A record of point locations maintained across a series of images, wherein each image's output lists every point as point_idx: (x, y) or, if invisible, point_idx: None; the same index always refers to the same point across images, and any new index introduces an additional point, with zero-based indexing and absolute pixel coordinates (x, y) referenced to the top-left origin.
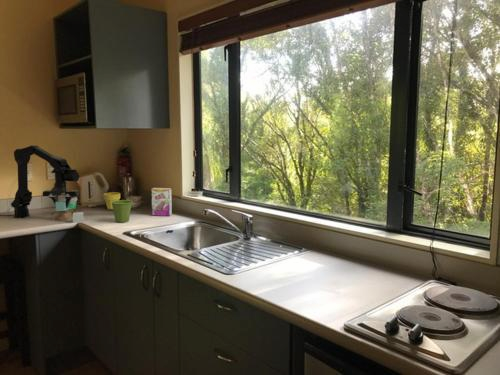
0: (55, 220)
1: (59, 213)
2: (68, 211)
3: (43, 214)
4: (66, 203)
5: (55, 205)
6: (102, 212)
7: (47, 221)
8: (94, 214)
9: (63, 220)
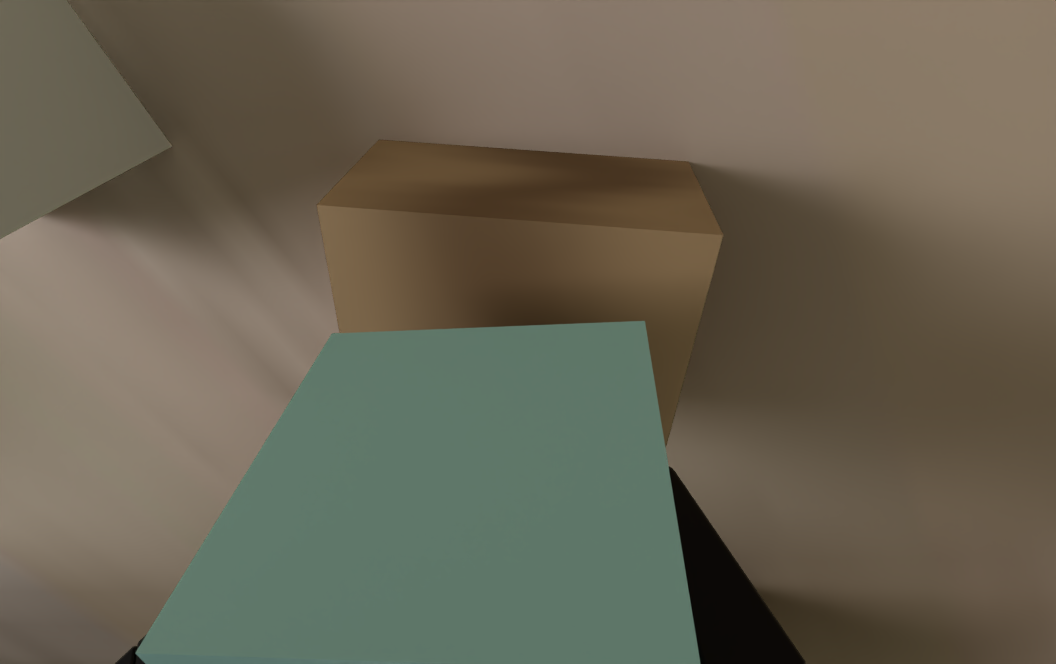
0: (632, 160)
1: None
2: None
3: (1026, 603)
4: None
5: (722, 550)
6: None
7: (818, 52)
8: None
9: (416, 146)
